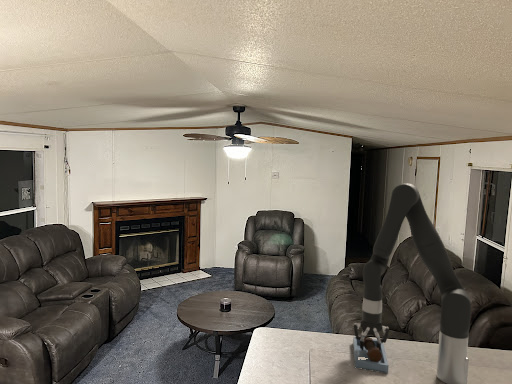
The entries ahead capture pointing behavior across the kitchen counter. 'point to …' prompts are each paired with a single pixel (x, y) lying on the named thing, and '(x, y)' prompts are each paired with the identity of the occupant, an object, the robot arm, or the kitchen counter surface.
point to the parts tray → (367, 364)
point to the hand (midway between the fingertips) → (369, 350)
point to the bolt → (372, 350)
